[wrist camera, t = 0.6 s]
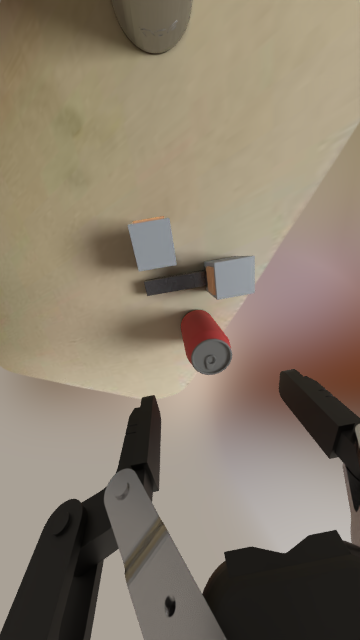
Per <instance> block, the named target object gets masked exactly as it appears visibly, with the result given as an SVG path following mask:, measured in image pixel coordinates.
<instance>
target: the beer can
mask: <svg viewBox="0 0 360 640" xmlns="http://www.w3.org/2000/svg"><path fill="white" fill-rule="evenodd" d="M181 332H182V337H183V342H184V347H185V352H186V355H187V358H188V360H189V362H190V363H191V364H192V365H193V367H194V368H195V369H196V370H197V371H198V372H200V373H202V374H206V375H213V374H217V373H219V372H221V371H223V370H224V369H226V368H227V366H228V365H229V364H230V362H231V359H232V351H231V346H230V343H229V339H228V338H227V336H226V335H225V334H224V332H223V331H222V330H221V328H220V327H219V326H218V325H217V323H216V322H215V321H214V319H213V318H212V317H211V315H210V314H209V313H207V312H206V311H202V310H194V311H191V312H189V313H188V314H187V315H185V317H184V318H183V319H182V322H181Z"/></svg>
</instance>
